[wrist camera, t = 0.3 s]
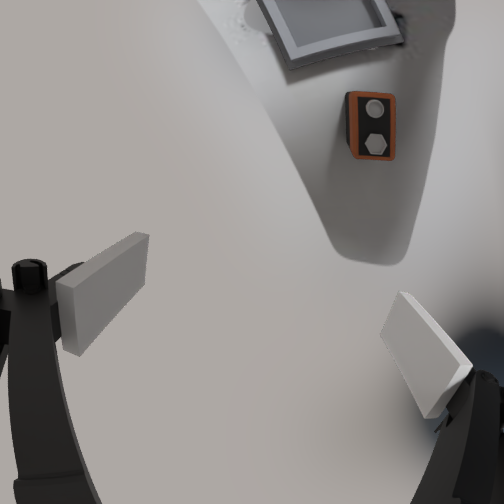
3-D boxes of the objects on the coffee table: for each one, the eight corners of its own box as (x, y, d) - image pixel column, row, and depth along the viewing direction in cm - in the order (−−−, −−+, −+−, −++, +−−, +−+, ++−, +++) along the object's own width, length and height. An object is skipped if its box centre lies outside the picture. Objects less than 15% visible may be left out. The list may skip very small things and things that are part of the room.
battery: (346, 144, 34) (353, 161, 26) (344, 91, 31) (352, 90, 23) (379, 145, 33) (397, 164, 25) (379, 93, 30) (398, 94, 22)
